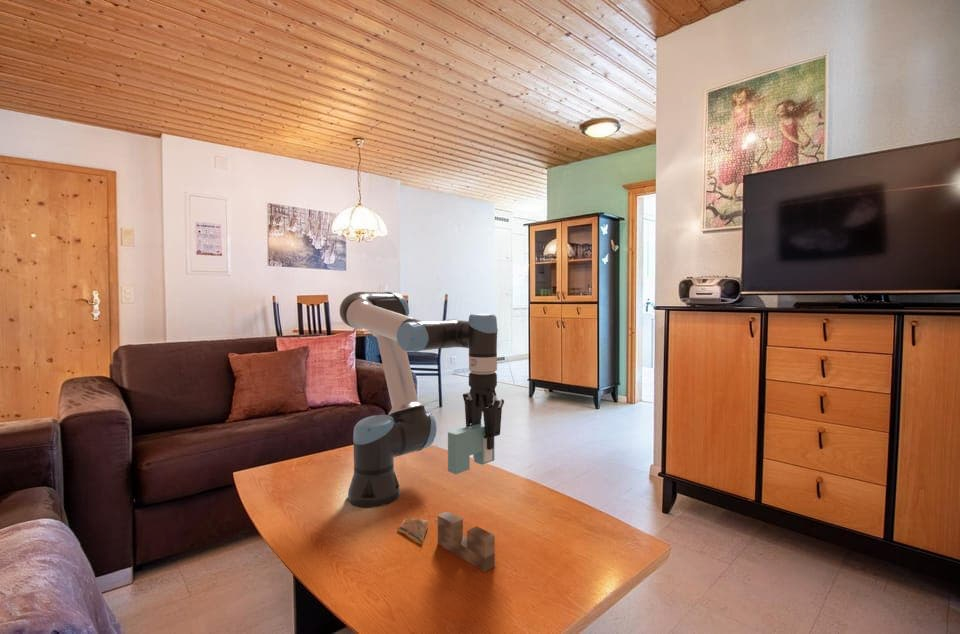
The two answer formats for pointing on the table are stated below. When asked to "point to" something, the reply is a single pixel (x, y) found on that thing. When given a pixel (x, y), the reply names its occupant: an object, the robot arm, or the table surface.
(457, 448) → the teal board
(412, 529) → the shard
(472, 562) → the walnut board
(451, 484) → the table surface
